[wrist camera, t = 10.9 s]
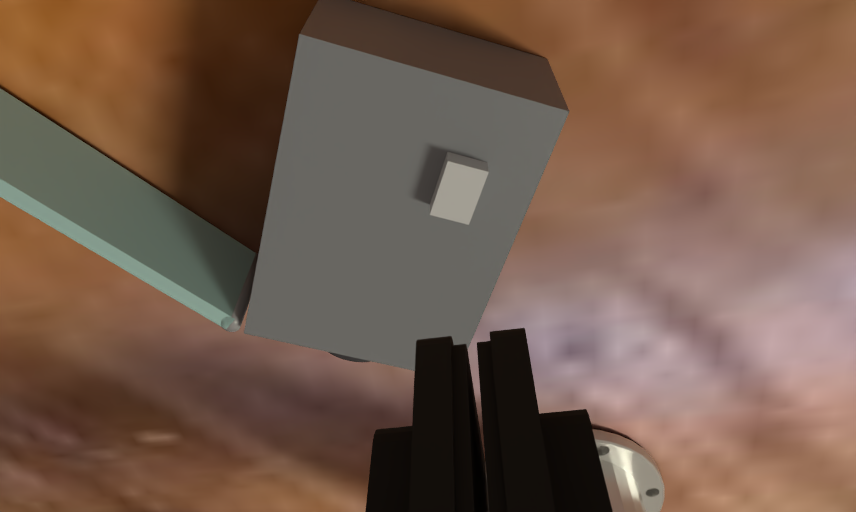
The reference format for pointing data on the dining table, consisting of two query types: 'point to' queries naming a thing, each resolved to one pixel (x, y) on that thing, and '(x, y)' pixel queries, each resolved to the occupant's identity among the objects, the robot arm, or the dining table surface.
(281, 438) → the dining table surface
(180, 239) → the door
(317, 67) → the box
